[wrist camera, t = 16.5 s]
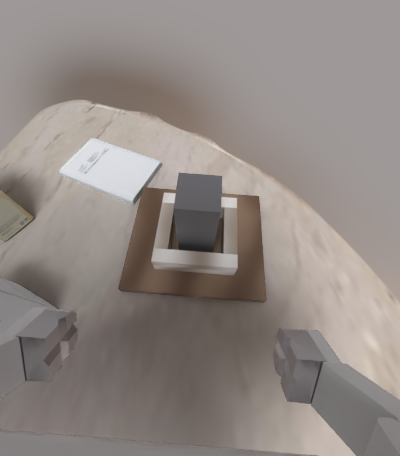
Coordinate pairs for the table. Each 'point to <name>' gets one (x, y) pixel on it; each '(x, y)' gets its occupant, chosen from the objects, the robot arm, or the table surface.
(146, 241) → the socket board
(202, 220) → the plug
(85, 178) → the external hard drive
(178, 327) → the table surface
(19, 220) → the skincare box
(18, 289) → the skincare box
